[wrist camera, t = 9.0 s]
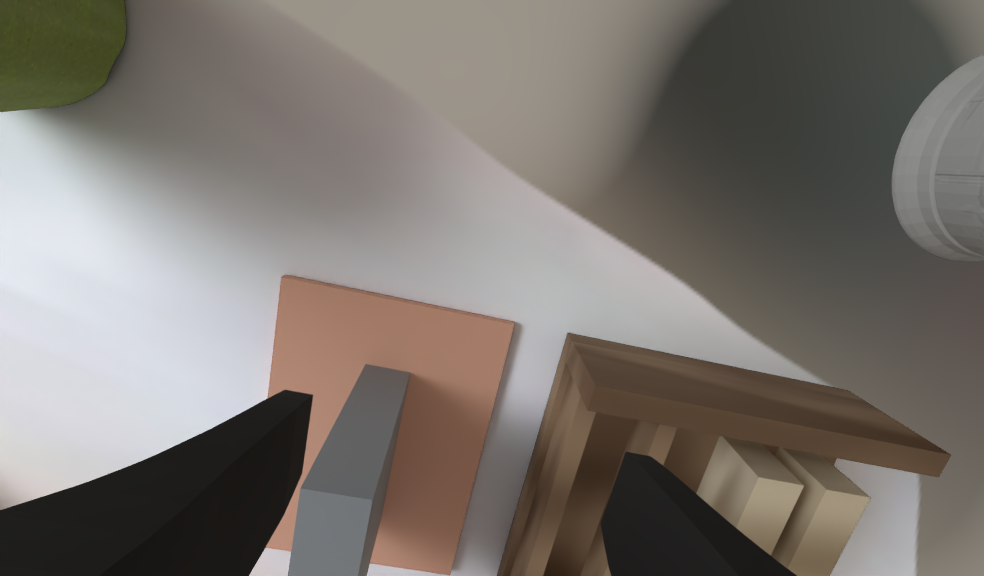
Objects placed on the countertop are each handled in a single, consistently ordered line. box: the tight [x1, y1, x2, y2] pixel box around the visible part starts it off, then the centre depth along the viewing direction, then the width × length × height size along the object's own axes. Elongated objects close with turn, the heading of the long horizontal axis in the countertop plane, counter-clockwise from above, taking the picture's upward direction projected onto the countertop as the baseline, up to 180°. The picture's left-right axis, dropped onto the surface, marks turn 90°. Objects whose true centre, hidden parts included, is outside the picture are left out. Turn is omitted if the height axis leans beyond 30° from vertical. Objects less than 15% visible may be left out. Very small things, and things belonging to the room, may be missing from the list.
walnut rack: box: [497, 333, 951, 576], centre depth 21 cm, size 14×14×5 cm
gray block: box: [288, 364, 410, 576], centre depth 18 cm, size 8×2×8 cm, turn 167°
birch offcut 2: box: [771, 447, 870, 576], centre depth 21 cm, size 8×2×3 cm, turn 167°
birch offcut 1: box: [696, 436, 804, 555], centre depth 21 cm, size 8×2×3 cm, turn 167°
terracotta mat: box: [265, 275, 514, 575], centre depth 22 cm, size 14×10×1 cm
